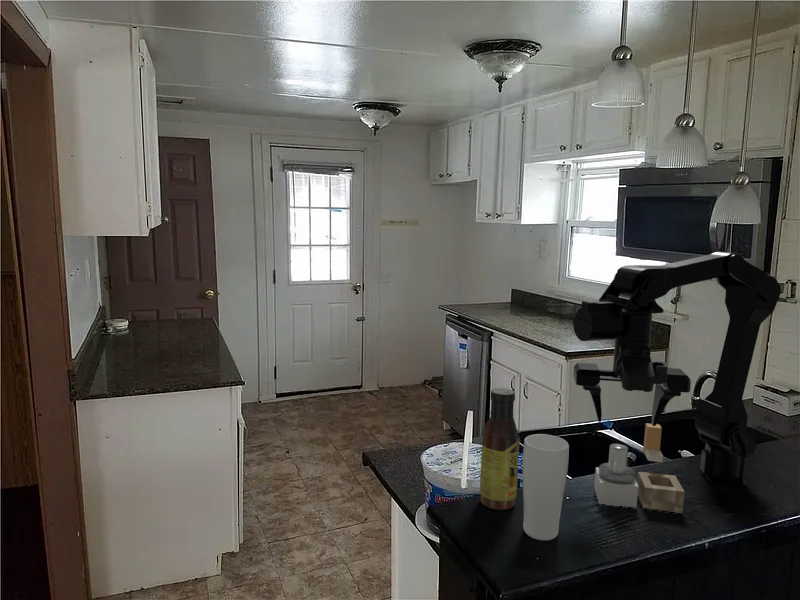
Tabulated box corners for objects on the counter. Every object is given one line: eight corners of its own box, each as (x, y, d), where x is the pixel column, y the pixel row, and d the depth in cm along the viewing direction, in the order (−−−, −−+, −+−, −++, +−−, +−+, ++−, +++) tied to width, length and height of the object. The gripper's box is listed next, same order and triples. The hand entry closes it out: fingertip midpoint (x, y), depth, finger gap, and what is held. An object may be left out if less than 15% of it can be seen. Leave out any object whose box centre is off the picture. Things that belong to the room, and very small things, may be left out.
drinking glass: (513, 521, 94) (518, 433, 92) (554, 521, 94) (560, 433, 92) (525, 545, 87) (531, 451, 85) (569, 544, 88) (576, 450, 85)
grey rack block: (629, 491, 105) (631, 470, 104) (636, 508, 99) (638, 486, 98) (594, 487, 106) (595, 467, 106) (598, 504, 100) (600, 482, 100)
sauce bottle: (515, 514, 96) (522, 399, 93) (477, 509, 97) (483, 396, 94) (516, 495, 102) (522, 387, 99) (480, 491, 104) (485, 384, 101)
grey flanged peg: (629, 489, 105) (634, 442, 103) (635, 505, 99) (640, 456, 98) (595, 485, 106) (598, 439, 105) (599, 501, 100) (603, 452, 99)
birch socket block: (673, 496, 104) (675, 475, 103) (682, 514, 98) (684, 491, 97) (636, 492, 105) (638, 471, 104) (643, 509, 99) (645, 487, 98)
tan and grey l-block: (656, 452, 109) (659, 424, 108) (662, 462, 105) (665, 433, 104) (643, 450, 110) (645, 423, 109) (648, 460, 105) (650, 432, 104)
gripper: (582, 345, 95) (576, 436, 98) (704, 352, 92) (695, 445, 94) (575, 332, 106) (570, 413, 109) (684, 337, 103) (677, 421, 105)
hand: (626, 423), depth 104 cm, fingers open, 9 cm apart
